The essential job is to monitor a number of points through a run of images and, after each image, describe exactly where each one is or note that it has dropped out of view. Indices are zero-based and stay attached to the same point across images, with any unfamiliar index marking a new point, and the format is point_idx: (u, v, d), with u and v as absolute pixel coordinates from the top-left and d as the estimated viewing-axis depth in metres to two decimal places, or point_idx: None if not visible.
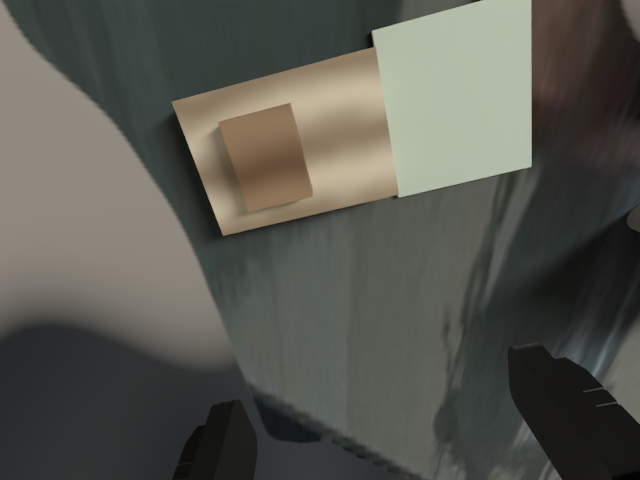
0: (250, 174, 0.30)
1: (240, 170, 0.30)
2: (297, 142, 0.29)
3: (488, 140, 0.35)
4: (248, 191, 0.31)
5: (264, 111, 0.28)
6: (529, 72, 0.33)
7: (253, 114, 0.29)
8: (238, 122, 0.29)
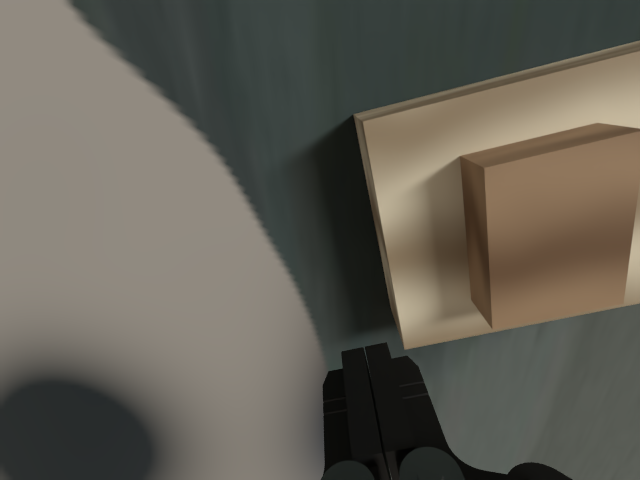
0: (516, 266, 0.15)
1: (500, 259, 0.15)
2: (633, 206, 0.14)
3: None
4: (503, 296, 0.16)
5: (589, 145, 0.13)
6: None
7: (564, 151, 0.13)
8: (526, 167, 0.14)
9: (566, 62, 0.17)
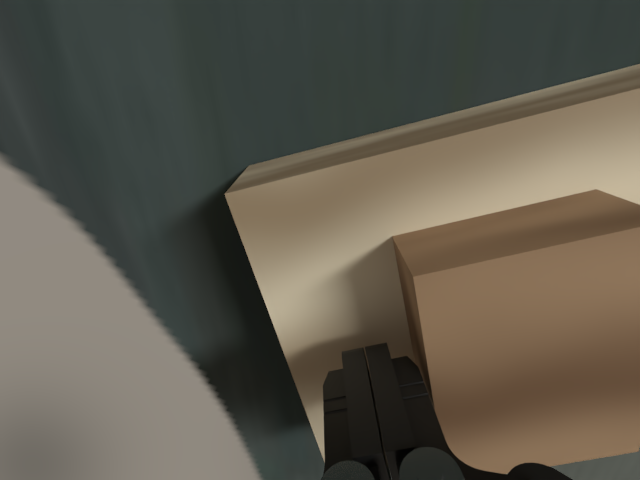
0: (476, 407, 0.10)
1: (450, 398, 0.10)
2: None
3: None
4: (459, 444, 0.11)
5: (583, 243, 0.08)
6: None
7: (541, 252, 0.08)
8: (481, 275, 0.08)
9: (535, 97, 0.12)
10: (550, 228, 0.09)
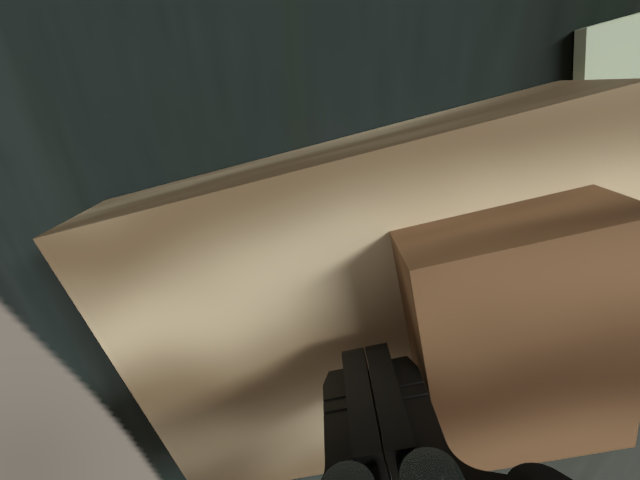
0: (473, 402, 0.10)
1: (447, 393, 0.10)
2: None
3: None
4: (456, 439, 0.11)
5: (579, 237, 0.08)
6: None
7: (538, 246, 0.08)
8: (478, 269, 0.08)
9: (353, 140, 0.12)
10: (547, 222, 0.09)
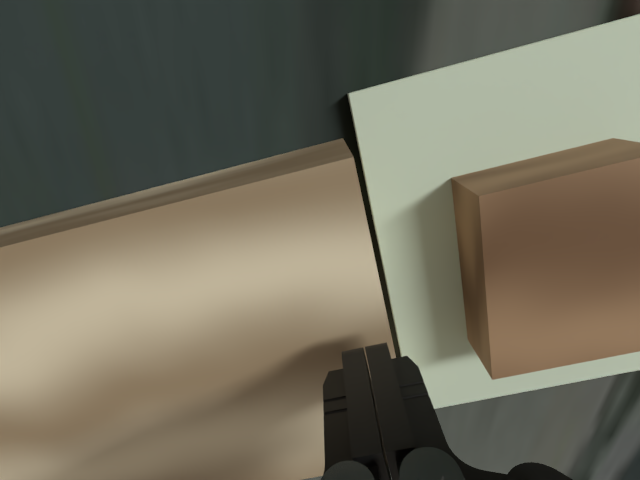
0: None
1: None
2: (460, 248, 0.15)
3: None
4: None
5: None
6: None
7: None
8: None
9: (138, 197, 0.13)
10: (523, 167, 0.12)
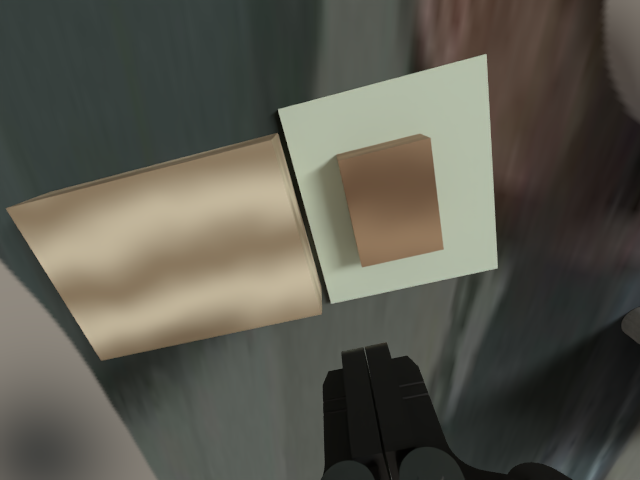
0: None
1: None
2: None
3: None
4: None
5: (364, 148, 0.25)
6: (489, 158, 0.25)
7: None
8: None
9: (168, 162, 0.24)
10: (369, 148, 0.24)
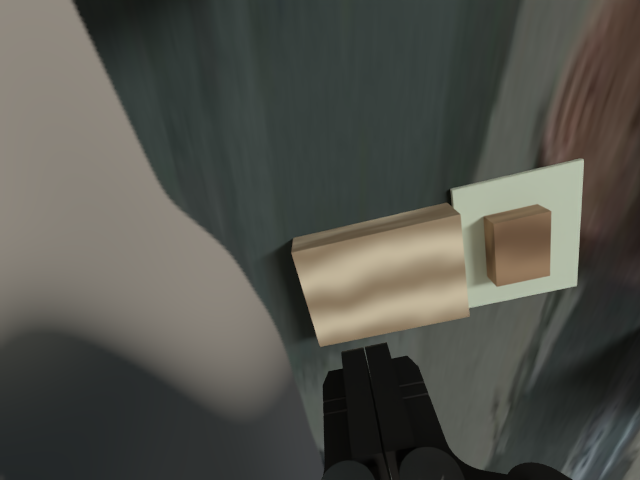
0: None
1: None
2: (485, 240, 0.41)
3: None
4: None
5: (501, 212, 0.39)
6: (579, 218, 0.40)
7: (510, 211, 0.39)
8: None
9: (381, 222, 0.39)
10: (507, 214, 0.39)
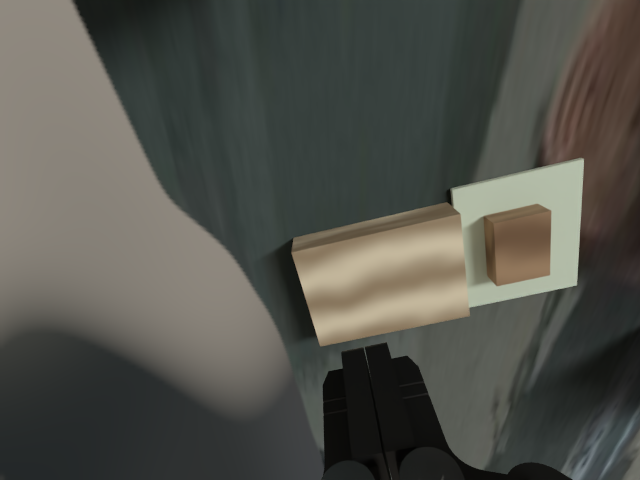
0: None
1: None
2: (485, 240, 0.41)
3: None
4: None
5: (501, 212, 0.40)
6: (579, 218, 0.40)
7: (510, 210, 0.39)
8: None
9: (381, 222, 0.39)
10: (507, 213, 0.39)
